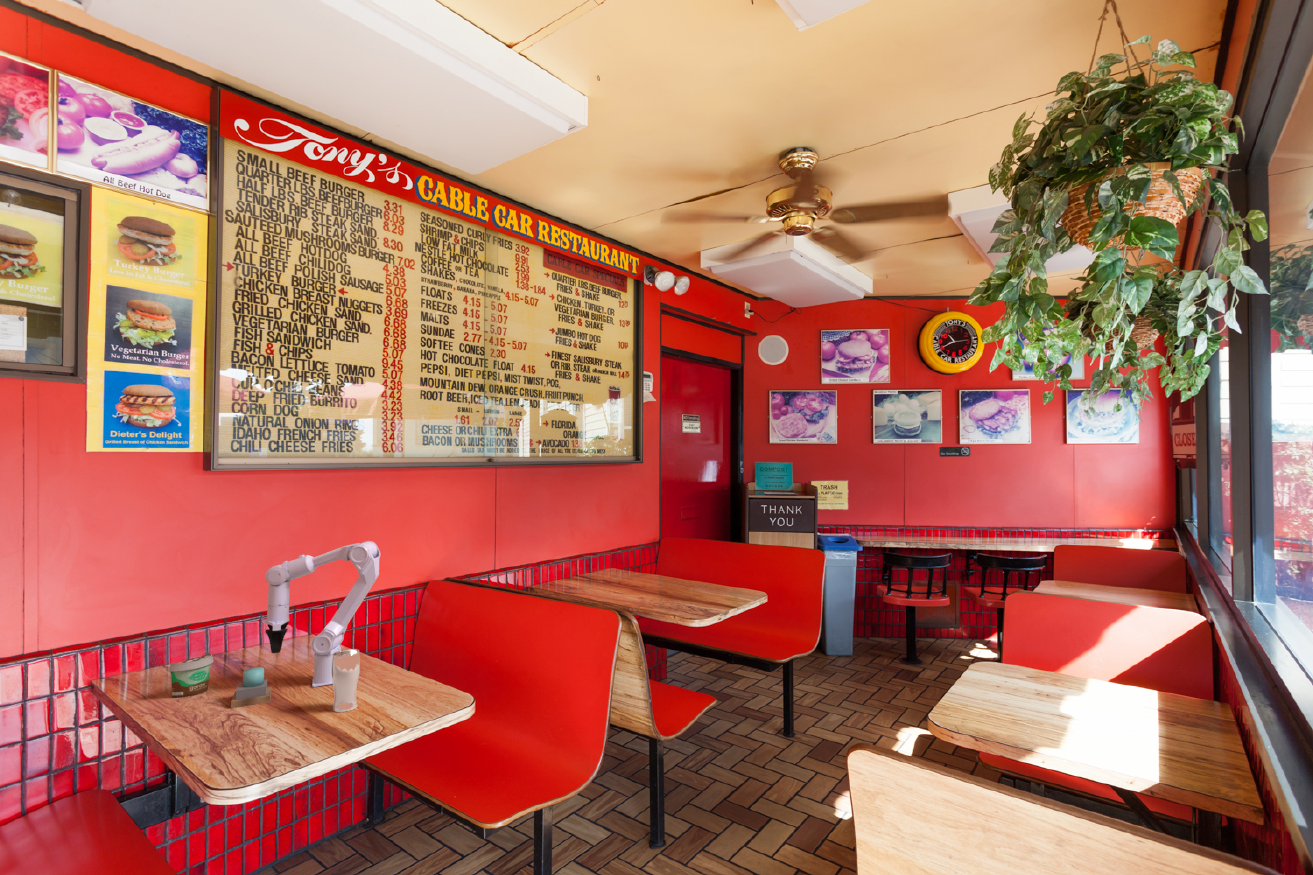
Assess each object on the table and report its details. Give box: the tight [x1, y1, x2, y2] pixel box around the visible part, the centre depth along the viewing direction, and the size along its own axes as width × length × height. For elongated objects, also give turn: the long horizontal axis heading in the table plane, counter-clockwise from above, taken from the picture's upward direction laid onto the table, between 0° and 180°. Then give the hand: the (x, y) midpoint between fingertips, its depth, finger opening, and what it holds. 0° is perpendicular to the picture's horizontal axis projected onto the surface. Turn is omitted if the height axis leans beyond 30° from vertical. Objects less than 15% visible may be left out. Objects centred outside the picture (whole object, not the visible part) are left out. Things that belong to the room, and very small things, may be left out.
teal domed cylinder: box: [242, 666, 265, 687], centre depth 179 cm, size 5×5×4 cm
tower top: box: [235, 678, 268, 700], centre depth 179 cm, size 7×7×2 cm
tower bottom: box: [230, 686, 273, 709], centre depth 179 cm, size 9×9×2 cm
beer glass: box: [332, 648, 361, 713], centre depth 172 cm, size 7×7×15 cm
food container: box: [168, 651, 215, 699], centre depth 185 cm, size 12×6×10 cm, turn 168°
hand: (276, 649), depth 192 cm, fingers open, 7 cm apart
